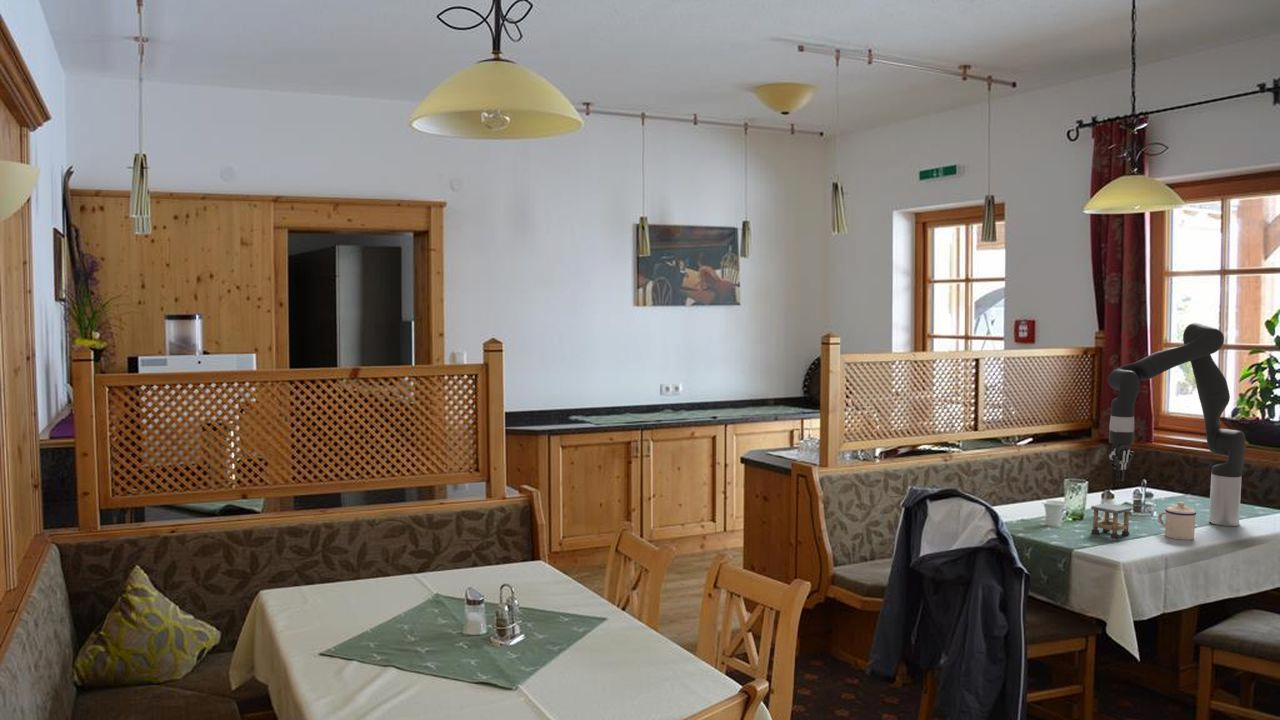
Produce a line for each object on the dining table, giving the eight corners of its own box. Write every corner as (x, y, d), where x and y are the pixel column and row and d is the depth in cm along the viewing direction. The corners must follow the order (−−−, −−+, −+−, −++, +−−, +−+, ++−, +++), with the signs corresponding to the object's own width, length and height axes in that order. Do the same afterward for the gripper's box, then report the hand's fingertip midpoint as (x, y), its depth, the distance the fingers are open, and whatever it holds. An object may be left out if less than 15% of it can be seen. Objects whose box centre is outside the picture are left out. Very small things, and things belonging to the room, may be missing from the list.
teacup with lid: (1200, 538, 338) (1202, 503, 337) (1184, 541, 333) (1186, 506, 332) (1165, 530, 348) (1167, 496, 347) (1150, 533, 343) (1151, 499, 343)
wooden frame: (1106, 503, 348) (1091, 506, 342) (1131, 507, 340) (1117, 511, 335) (1105, 529, 348) (1090, 533, 343) (1130, 535, 341) (1115, 538, 336)
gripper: (1122, 426, 349) (1120, 476, 350) (1100, 429, 341) (1098, 481, 343) (1143, 429, 343) (1141, 480, 344) (1121, 432, 335) (1119, 484, 337)
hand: (1119, 480), depth 344 cm, fingers closed
